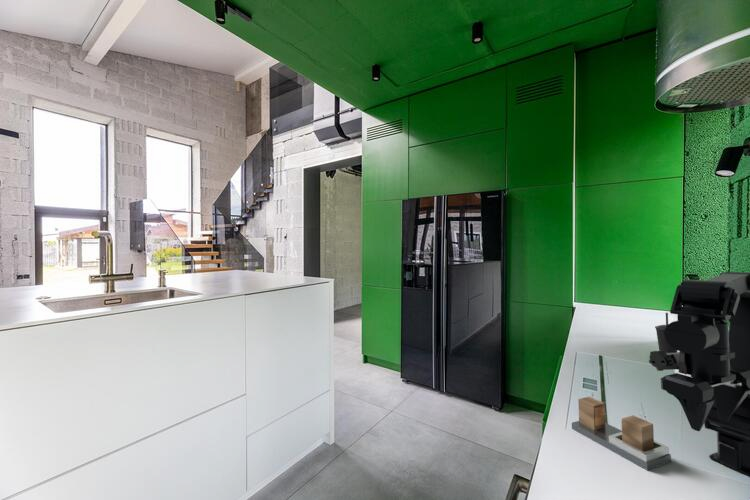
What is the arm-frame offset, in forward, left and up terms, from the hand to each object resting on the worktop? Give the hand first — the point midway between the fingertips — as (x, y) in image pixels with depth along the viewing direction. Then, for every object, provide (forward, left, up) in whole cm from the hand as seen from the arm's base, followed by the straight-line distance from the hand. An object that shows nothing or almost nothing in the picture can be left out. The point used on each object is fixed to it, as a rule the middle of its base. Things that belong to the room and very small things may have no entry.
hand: (709, 425), depth 60 cm
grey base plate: (+2, -16, -12) cm, 20 cm away
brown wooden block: (+2, -22, -10) cm, 24 cm away
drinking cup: (-78, -47, -12) cm, 92 cm away
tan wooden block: (+2, -12, -10) cm, 16 cm away
